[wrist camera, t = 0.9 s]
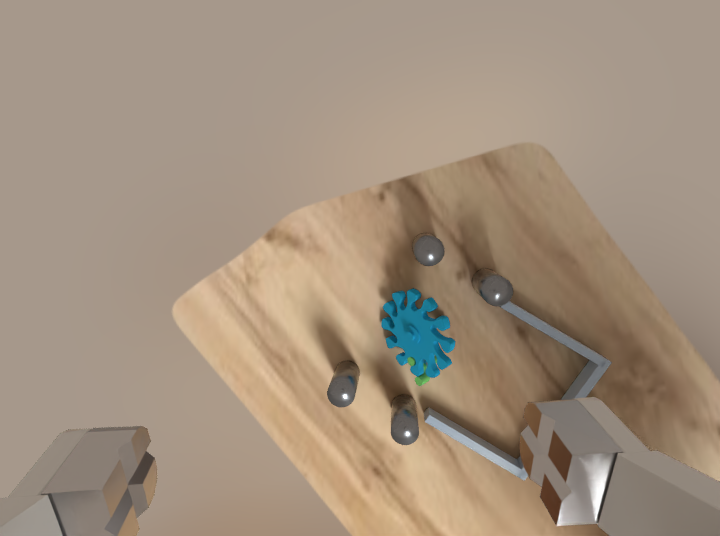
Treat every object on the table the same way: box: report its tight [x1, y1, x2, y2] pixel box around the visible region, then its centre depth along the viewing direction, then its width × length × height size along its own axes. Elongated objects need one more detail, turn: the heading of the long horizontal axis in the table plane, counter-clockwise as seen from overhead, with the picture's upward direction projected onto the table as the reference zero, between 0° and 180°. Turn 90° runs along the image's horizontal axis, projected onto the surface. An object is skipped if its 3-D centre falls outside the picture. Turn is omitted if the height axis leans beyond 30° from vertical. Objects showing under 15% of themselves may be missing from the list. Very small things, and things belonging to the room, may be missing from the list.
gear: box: [382, 288, 455, 386], centre depth 47 cm, size 11×6×10 cm
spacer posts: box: [327, 233, 513, 445], centre depth 46 cm, size 11×21×6 cm, turn 150°
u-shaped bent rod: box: [424, 301, 612, 481], centre depth 48 cm, size 14×17×2 cm
